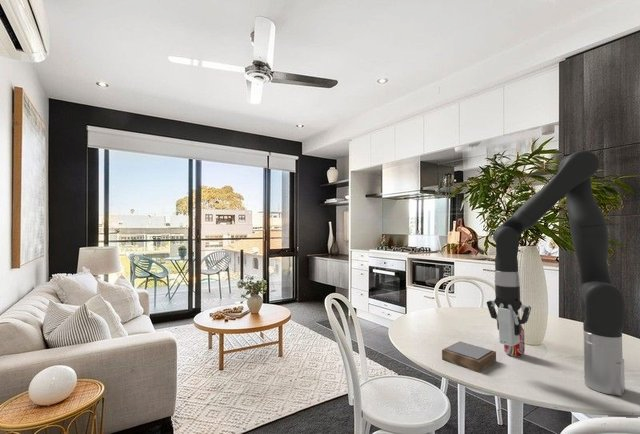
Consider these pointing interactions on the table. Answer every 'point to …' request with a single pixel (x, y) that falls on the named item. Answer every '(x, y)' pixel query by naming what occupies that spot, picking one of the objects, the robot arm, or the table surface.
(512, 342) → the skincare box
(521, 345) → the soda can
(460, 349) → the plinth
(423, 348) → the table surface
